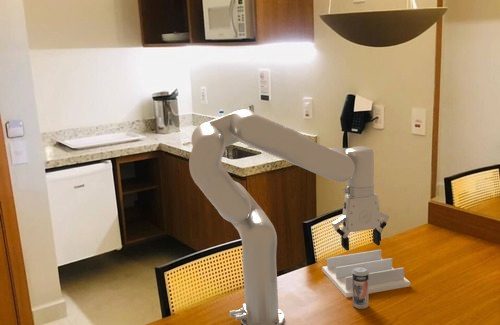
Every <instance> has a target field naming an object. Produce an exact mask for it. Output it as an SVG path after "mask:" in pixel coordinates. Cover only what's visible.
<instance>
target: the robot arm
mask: <svg viewBox="0 0 500 325" xmlns="http://www.w3.org/2000/svg"><path fill="white" fill-rule="evenodd" d="M190 140H191V145H192V148H191V152H190V154H189V160H188V165H189V166H188V167H189V174H190V177H191V178H192V180H193V182H194V184H195V185H196V186H197V187H198V188H199V189H200V191H201V192H202V193H203V194H204V196H205V197H206V199H207V200H208V201H209V202H210V203H211V204H212V205H213V206H214V208H215V209H216V210H217V212H218V214H219V215H220V216H221V217H222V219H224V220H226V222H229V223H231V224H232V225H233V227H234V228H235V229H236V230H237V232H238V234H239V237H240V239H241V245H242V254H241V255H242V256H241V257H242V272H243V275H242V276H243V287H244V288H243V290H244V303H243V304H242V307H240V308H239V309H236V310H235V309H233V310H229V318H235V321H240V323H241V325H242V324H243V325H282V324H283V323H284V322H285V314H284V312H283V311H282V310H281V309H280V308H279V296H278V292H279V291H278V274H277V248H278V247H277V246H278V236H277V232H276V231H277V230H276V229H275V226H274V224H273V222H271V219H269V217H268V215H267V214H266V213H265V211H264V210H263V208H262V207H261V206H260V205H259V204H258V203H257V201H256V200H255V199H254V197H252V195H251V194H250V193H249V192H248V191H247V189H246V188H245V187H244V186H243V185H242V184H241V183H240V182H238V181H235V180H234V179H233V178H232V177H231V175H230V174H229V173H228V171H226V169H225V167H223V164H222V159H223V156H224V153H225V150H226V147H228V146H231V145H234V144H236V143H239V142H240V143H242V144H244V145H246V146H247V147H250V148H253V149H256V150H258V151H261V152H263V153H266V154H269V155H271V156H273V157H276V158H279V159H281V160H284V161H285V162H288V163H290V164H292V165H295V166H298V167H299V168H302V169H305V170H307V171H309V172H311V173H314V174H316V175H318V176H321V177H323V178H326V179H329V180H330V181H333V182H336V183H337V182H338V183H344V182H346V185H345V188H342V193H343V194H345V195H344V199H343V200H344V201H343V204H342V206H343V208H342V215H341V216H340V217H339V218H338V219H336V220H335V221H333V222H332V223H331V225H332V227H333V228H334V230H335V232H336V233H338V234H339V235H340V236H341V238H340V240H341V242H340V243H341V244H340V245H341V247H342V248H343V249H344V250H345V251H349V250H350V238H349V237H348V236H349V235H350V233H351V232H352V233H355V232H356V233H358V232H362V231H363V232H364V231H369V230H372V243H374V244H375V245H376V246H381V241H382V232H383V230H384V228H386V226H387V224H388V221H389V218H390V216H389V215H388V214H386V213H384V212H381V210H380V202H379V197H378V194H377V193H376V192H375V164H374V163H375V155H374V154H375V153H374V150H373V149H372V148H371V147H368V146H352V147H349V148H348V147H326V146H324V145H322V144H320V143H317V142H316V141H314V140H312V139H310V138H309V137H307V136H306V135H304V134H302V133H301V132H299V131H298V130H295V129H292V128H290V127H288V126H285V125H283V124H280V123H278V122H275V121H273V120H271V119H268V118H266V117H263V116H261V115H259V114H257V113H256V112H254V111H253V110H250V109H240V110H236V111H233V112H231V113H229V114H226V115H223V116H221V117H218V118H214V119H212V120H210V121H207V122H204V123H202V124H199V125H198V126H197V127H196V128H195V129H194V130H193V132H192V134H191V139H190ZM340 225H342V228H340Z"/></svg>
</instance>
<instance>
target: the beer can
mask: <svg viewBox="0 0 500 325" xmlns="http://www.w3.org/2000/svg"><path fill="white" fill-rule="evenodd" d="M352 273H353V297H352V306H353V307H354V308H356V309H359V310H365V309H367V308H368V307H369V305H370V304H369V294H368V274H369V272H368V270H367V268H365V267H361V266H359V267H355V268H354V269H353V271H352Z"/></svg>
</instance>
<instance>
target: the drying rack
mask: <svg viewBox="0 0 500 325" xmlns="http://www.w3.org/2000/svg"><path fill="white" fill-rule="evenodd" d="M359 266H361V267H365V268H367V270H368V272H369V274H368V295H369V294H374V293H380V292H384V291H391V290H396V289H397V290H398V289H403V288H408V287H411V282H410V281H409V280H408V279H407V277H405V267H398V268H397V267H396V268H394V267H393V258H392V257H391V258H390V257H389V258H382V249H375V250H370V251H362V252H356V253H349V254H343V255H338V256H337V255H336V256H332V257H326V265H325V266H322V267H321V271H322V273H324V274H325V275H326V277H328V279H329V280H330V282H331V283H333V285H334V286H335V287H336V288H337V289H338V290H339V291H340V292H341V294H342V295H343V296H344V297H345V298H346V299H347V298H351V297H352V298H353V273H352V271H353V269H354V268H355V267H359Z"/></svg>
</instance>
